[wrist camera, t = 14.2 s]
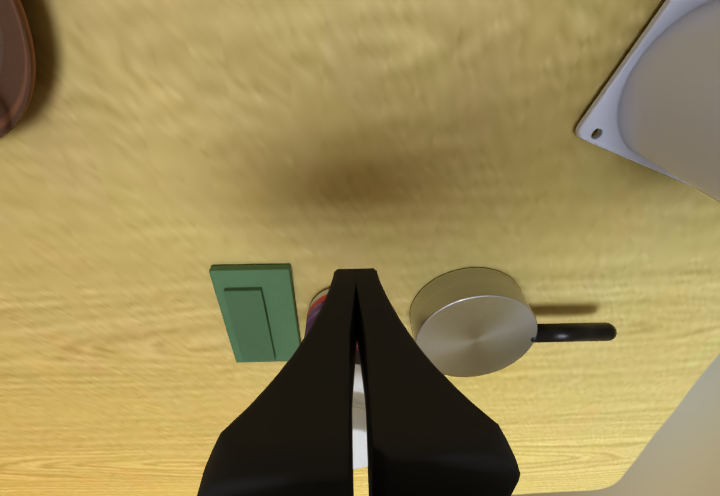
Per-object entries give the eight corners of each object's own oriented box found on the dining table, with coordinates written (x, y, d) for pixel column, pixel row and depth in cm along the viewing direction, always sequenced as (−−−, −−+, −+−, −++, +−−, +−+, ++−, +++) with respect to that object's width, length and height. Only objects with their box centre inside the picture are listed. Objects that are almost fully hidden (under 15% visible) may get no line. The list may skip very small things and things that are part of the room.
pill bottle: (398, 298, 26) (420, 438, 18) (362, 344, 29) (368, 483, 21) (326, 271, 24) (317, 411, 16) (295, 323, 27) (275, 465, 19)
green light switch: (290, 263, 24) (288, 273, 23) (302, 354, 29) (301, 365, 28) (211, 264, 24) (206, 274, 23) (237, 356, 29) (235, 366, 28)
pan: (405, 348, 29) (410, 380, 27) (414, 268, 24) (421, 298, 22) (578, 344, 29) (597, 375, 27) (618, 264, 25) (646, 293, 22)
